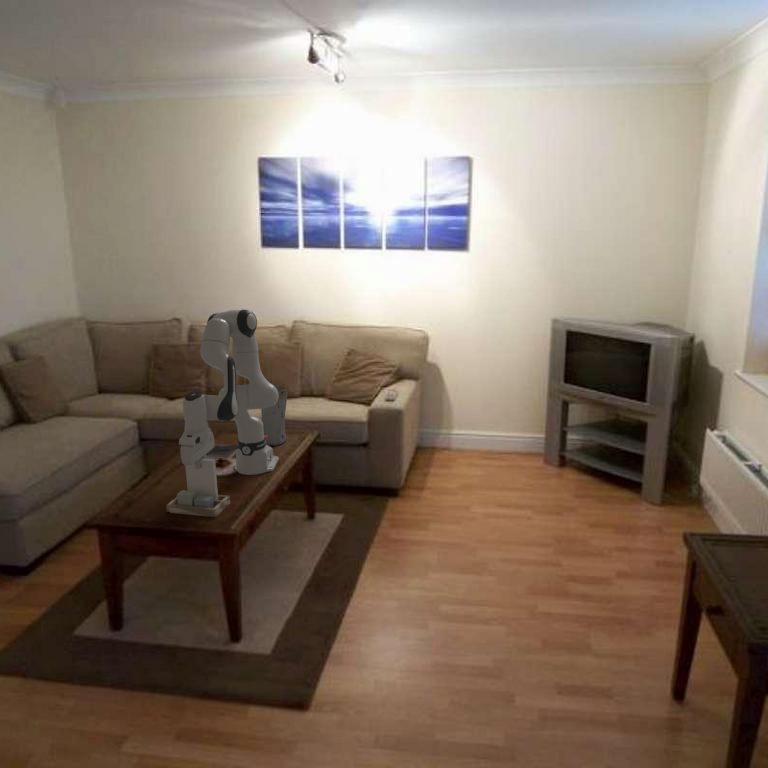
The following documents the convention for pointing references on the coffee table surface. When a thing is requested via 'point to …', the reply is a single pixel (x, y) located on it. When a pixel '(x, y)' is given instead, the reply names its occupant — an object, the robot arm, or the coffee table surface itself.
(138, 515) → the coffee table surface
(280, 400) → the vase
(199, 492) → the tall board
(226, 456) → the picture frame
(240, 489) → the coffee table surface
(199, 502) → the slate offcut
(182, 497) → the sage offcut
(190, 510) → the birch rack
